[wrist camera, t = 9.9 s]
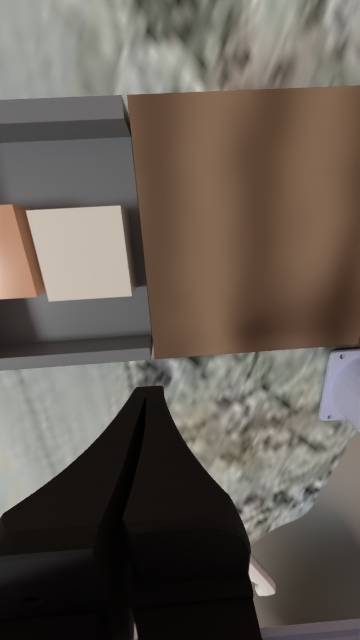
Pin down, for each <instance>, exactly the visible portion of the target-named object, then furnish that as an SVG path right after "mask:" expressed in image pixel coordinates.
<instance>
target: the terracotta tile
mask: <svg viewBox="0 0 360 640" xmlns="http://www.w3.org/2000/svg"><path fill="white" fill-rule="evenodd" d="M26 210H36V209H32V208H27V207H22V206H18V205H13V204H9V205H0V299H14V298H30V297H38V296H41V295H43V294H45V293H47V292H46V288H45V284H44V281H43V277H42V273H41V269H40V265H39V261H38V257H37V253H36V249H35V245H34V241H33V237H32V233H31V229H30V226H29V222H28V218H27V214H26Z"/></svg>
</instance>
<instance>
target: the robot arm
mask: <svg viewBox="0 0 360 640" xmlns="http://www.w3.org/2000/svg"><path fill="white" fill-rule="evenodd" d="M340 355H342V356H341V357H340ZM318 416H319V418H320V419H321V420H322V421H329V420H341V419H346V420H347V421H348V422H349V423H350V424H351V425H352V426H353V427H354V428H355V429H356V430H357V431H358V432H359V433H360V349H348V350H335V351H333V352H331V353H330V356H329V361H328V366H327V372H326V377H325V383H324V388H323V393H322V399H321V404H320V410H319V415H318ZM250 555H251V549H250V542H249V538H248V535H247V533H246V530H245V527H244V525H243V522H242V520H241V518H240V516H239V513H238V511H237V509H236V507H235V505H234V503H233V501H232V499H231V498H230V496H229V495H228V494H227V493H226V492H225V491H224V490H223V489H222V488H221V487H220V486H219V485H218V484H217V483H216V481H215V480H214V479H213V478H212V477H211V476H210V475H209V474H208V472H207V471H206V470H205V469H204V468H203V466H202V465H201V464H200V462H199V461H198V460H197V458H196V457H195V456H194V455H193V453H192V452H191V450H190V449H189V447H188V446H187V444H186V443H185V441H184V440H183V438H182V436H181V435H180V433H179V431H178V429H177V427H176V425H175V423H174V421H173V419H172V417H171V414H170V412H169V409H168V407H167V404H166V401H165V397H164V388H163V387H162V386H147V387H136V388H135V389H134V391H133V393H132V394H131V396H130V397H129V399H128V400H127V402H126V403H125V405H124V406H123V407H122V409H121V410H120V411H119V413H118V414H117V416H116V417H115V418H114V419H113V421H112V422H111V423H110V424H109V425H108V427H107V428H106V429H105V430H104V432H103V433H102V434H101V435H100V436H99V437H98V438H97V439H96V440H95V441H94V442H93V443H92V444H91V445H90V446H89V448H88V449H87V450H85V451H84V452H83V453H82V454H81V455H80V456H79V457H78V458H77V459H76V460H75V461H73V462H72V463H71V464H70V465H69V466H68V467H67V468H65V469H64V470H63V471H62V472H61V473H59V474H58V475H57V476H56V477H54V478H53V479H52V480H50V481H49V482H48V483H46V484H45V485H44V486H42V487H41V488H40V489H38V490H37V491H36V492H34V493H33V494H31V495H30V496H28V497H27V498H25V499H24V500H23V501H21V502H20V503H18V504H17V505H15V506H14V507H12V508H11V509H9V510H8V511H6V512H5V513H3V515H2V516H1V518H0V640H134V625H135V627H136V631H137V636H138V639H135V640H360V619H352V620H342V621H331V622H320V623H309V624H298V625H287V626H278V627H265V628H259V623H258V619H257V615H256V611H255V606H254V602H253V589H252V585H251V580H250V576H249V565H250Z"/></svg>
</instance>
